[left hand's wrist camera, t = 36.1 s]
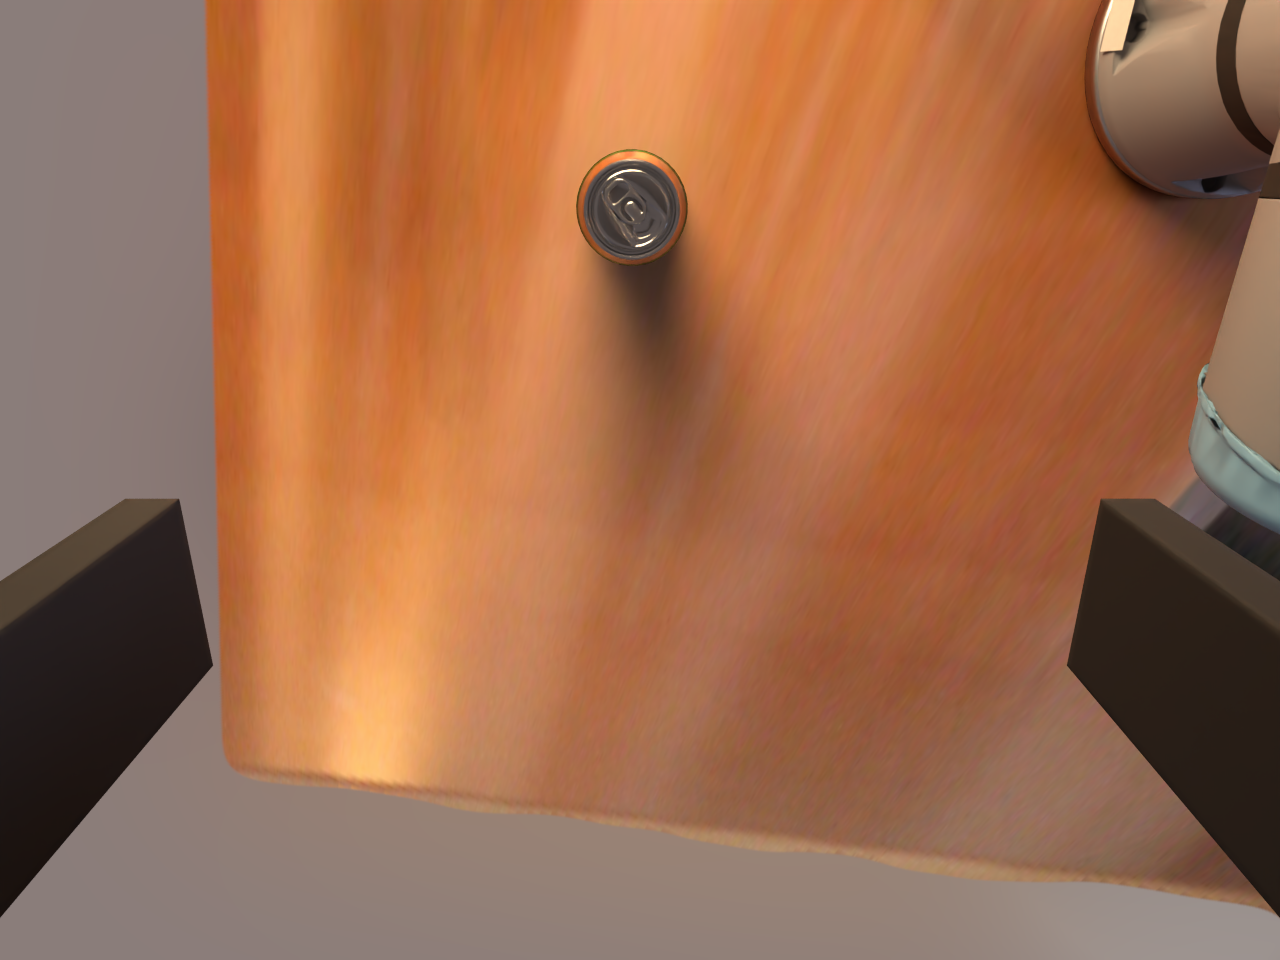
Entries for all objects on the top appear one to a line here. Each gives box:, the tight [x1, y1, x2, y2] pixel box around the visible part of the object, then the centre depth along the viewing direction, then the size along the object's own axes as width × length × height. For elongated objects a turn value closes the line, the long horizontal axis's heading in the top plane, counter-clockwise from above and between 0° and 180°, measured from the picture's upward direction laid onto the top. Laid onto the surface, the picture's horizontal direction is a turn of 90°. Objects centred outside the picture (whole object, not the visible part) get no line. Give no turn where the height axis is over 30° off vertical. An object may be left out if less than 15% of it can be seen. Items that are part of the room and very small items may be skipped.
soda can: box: [576, 149, 687, 266], centre depth 43 cm, size 5×5×12 cm
